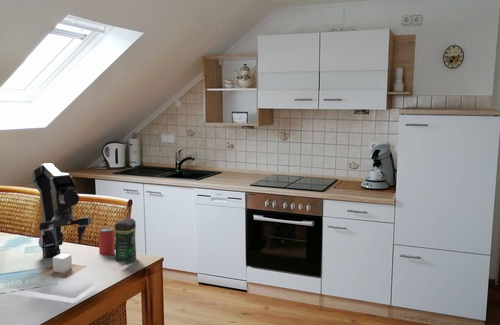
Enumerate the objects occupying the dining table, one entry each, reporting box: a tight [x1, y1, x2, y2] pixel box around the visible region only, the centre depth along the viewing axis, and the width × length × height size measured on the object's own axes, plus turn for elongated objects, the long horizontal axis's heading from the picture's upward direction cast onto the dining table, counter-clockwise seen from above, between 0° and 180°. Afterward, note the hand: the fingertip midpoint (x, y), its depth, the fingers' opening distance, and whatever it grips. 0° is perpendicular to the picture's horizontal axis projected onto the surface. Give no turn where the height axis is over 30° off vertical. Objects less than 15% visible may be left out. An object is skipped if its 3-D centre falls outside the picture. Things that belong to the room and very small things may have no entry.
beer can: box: [98, 227, 115, 257], centre depth 204 cm, size 7×7×12 cm
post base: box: [38, 263, 87, 279], centre depth 183 cm, size 13×13×4 cm
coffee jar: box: [114, 217, 137, 265], centre depth 196 cm, size 10×8×19 cm
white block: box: [52, 252, 73, 273], centre depth 182 cm, size 5×5×6 cm
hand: (68, 245), depth 179 cm, fingers open, 9 cm apart
